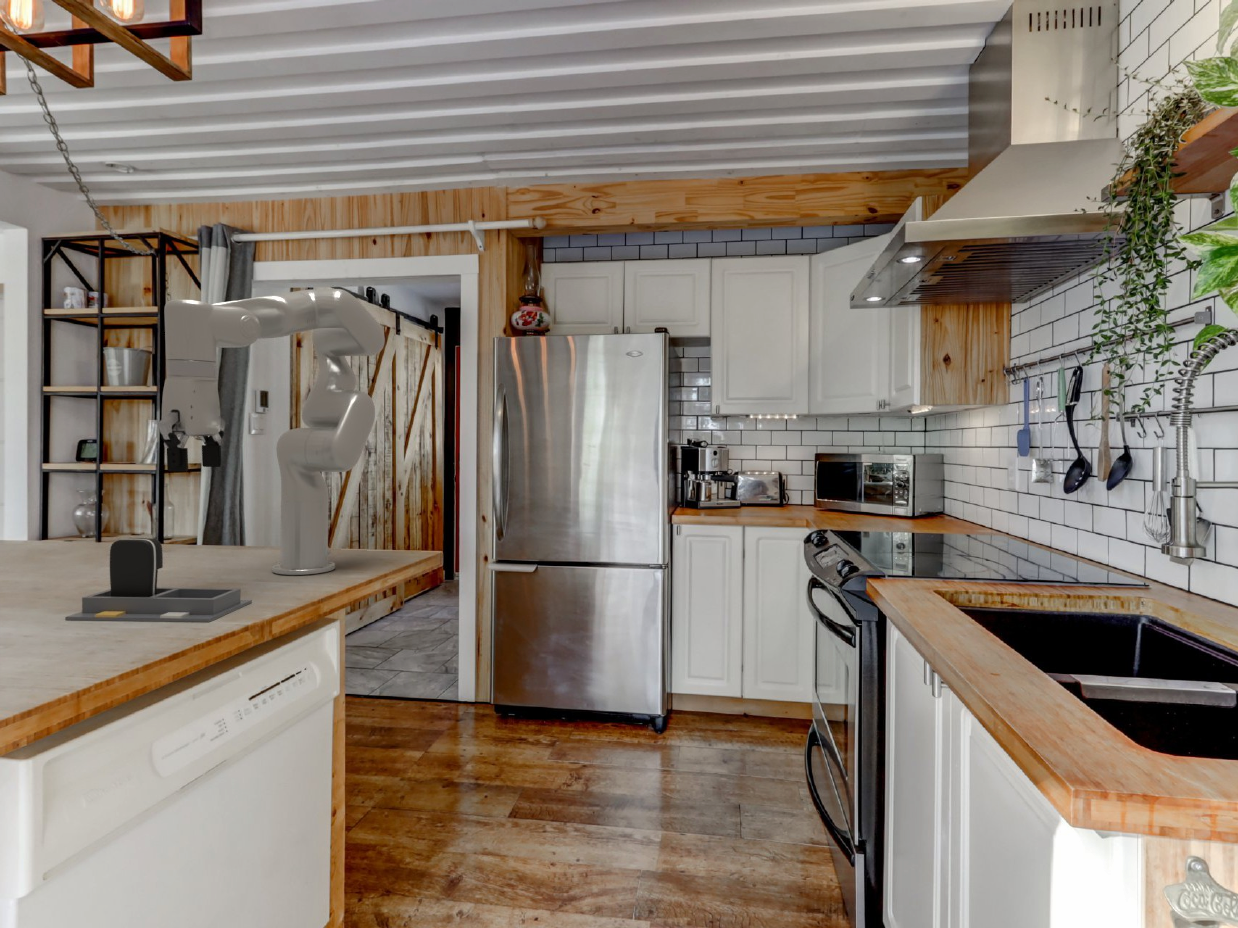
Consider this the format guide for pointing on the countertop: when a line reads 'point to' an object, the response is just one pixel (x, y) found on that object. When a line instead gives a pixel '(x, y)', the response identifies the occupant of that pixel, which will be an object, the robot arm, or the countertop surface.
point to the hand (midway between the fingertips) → (195, 468)
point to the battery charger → (135, 567)
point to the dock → (162, 605)
